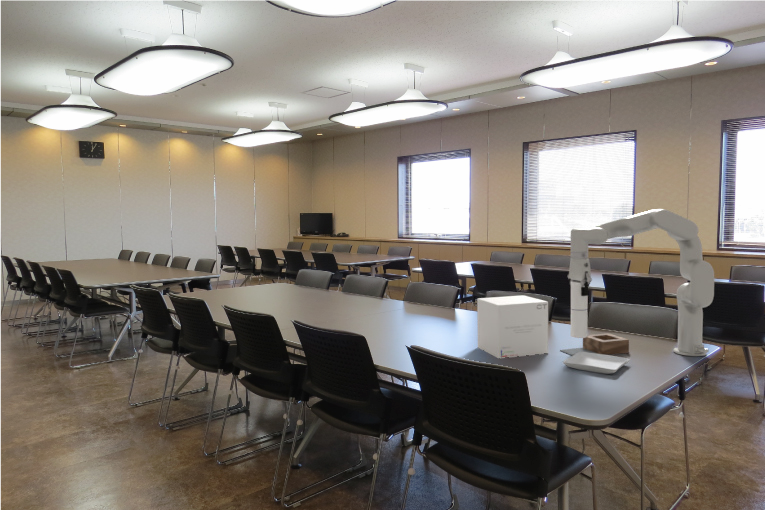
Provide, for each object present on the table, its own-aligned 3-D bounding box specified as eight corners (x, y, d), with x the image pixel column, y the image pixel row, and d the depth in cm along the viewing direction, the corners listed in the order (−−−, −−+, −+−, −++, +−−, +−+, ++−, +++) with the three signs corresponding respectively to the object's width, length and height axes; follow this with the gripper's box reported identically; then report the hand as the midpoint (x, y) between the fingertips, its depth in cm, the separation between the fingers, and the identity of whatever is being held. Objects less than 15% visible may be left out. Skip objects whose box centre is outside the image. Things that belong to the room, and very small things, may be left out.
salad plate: (579, 358, 232) (579, 350, 232) (630, 365, 219) (630, 357, 218) (561, 369, 216) (561, 361, 215) (616, 378, 202) (616, 369, 202)
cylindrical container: (569, 337, 237) (569, 282, 235) (571, 333, 243) (572, 280, 242) (586, 338, 234) (586, 283, 232) (588, 335, 240) (588, 281, 238)
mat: (599, 354, 235) (599, 353, 235) (576, 357, 232) (576, 356, 232) (582, 348, 246) (582, 347, 246) (560, 350, 243) (560, 349, 243)
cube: (498, 359, 233) (498, 305, 231) (477, 348, 254) (477, 298, 252) (548, 354, 240) (548, 301, 238) (523, 344, 260) (523, 295, 258)
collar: (628, 352, 238) (628, 339, 237) (602, 355, 234) (602, 342, 234) (607, 345, 251) (608, 333, 251) (582, 348, 248) (582, 335, 247)
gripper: (599, 256, 229) (598, 296, 230) (574, 254, 245) (574, 291, 247) (584, 257, 227) (584, 297, 228) (560, 254, 243) (560, 292, 245)
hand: (579, 294), depth 237 cm, fingers closed on cylindrical container, 7 cm apart
